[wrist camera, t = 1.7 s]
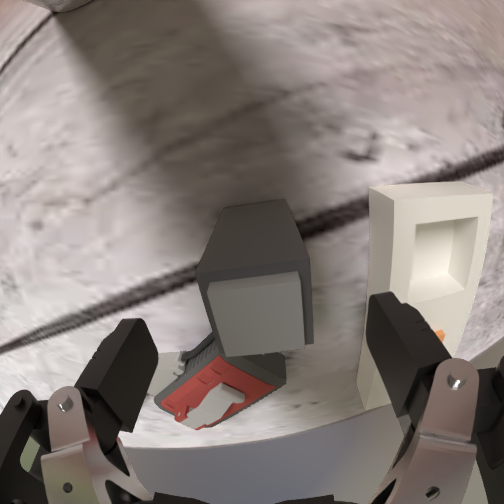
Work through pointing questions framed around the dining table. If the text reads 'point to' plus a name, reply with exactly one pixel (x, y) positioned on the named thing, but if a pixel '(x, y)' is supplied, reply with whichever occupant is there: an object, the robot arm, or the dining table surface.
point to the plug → (257, 281)
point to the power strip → (424, 262)
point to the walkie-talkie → (213, 383)
